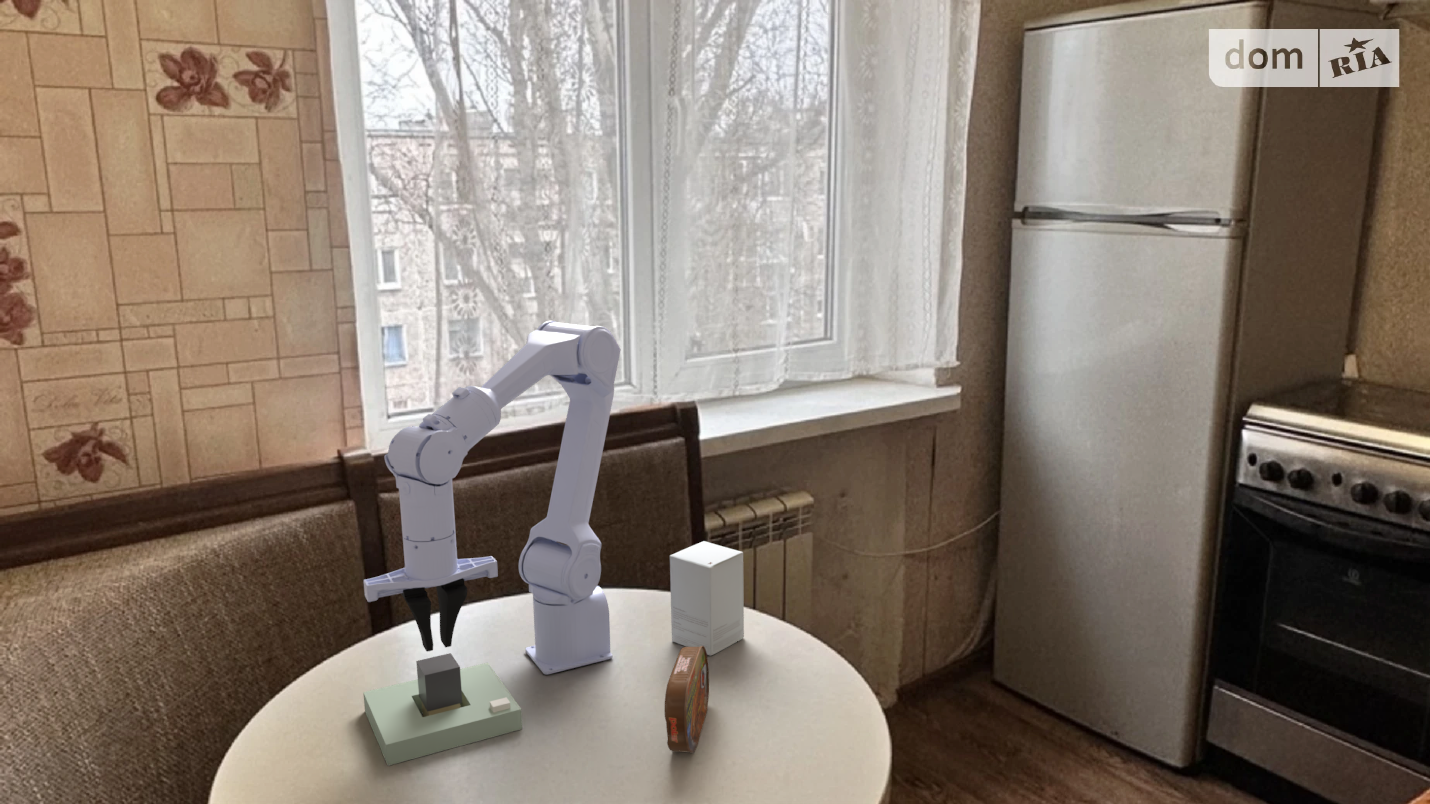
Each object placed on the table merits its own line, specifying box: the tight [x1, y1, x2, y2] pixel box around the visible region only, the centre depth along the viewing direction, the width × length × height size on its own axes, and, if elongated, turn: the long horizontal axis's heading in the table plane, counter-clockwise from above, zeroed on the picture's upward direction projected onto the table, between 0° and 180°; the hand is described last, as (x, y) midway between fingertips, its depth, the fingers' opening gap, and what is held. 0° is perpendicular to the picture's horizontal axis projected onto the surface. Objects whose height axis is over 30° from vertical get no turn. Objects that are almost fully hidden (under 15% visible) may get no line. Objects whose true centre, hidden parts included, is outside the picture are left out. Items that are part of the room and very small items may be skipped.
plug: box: [416, 653, 462, 717], centre depth 116 cm, size 4×4×7 cm
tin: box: [664, 646, 710, 754], centre depth 114 cm, size 15×3×8 cm, turn 172°
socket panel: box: [362, 662, 523, 766], centre depth 116 cm, size 15×13×3 cm
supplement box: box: [669, 540, 745, 656], centre depth 135 cm, size 7×7×13 cm
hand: (437, 645), depth 115 cm, fingers closed
